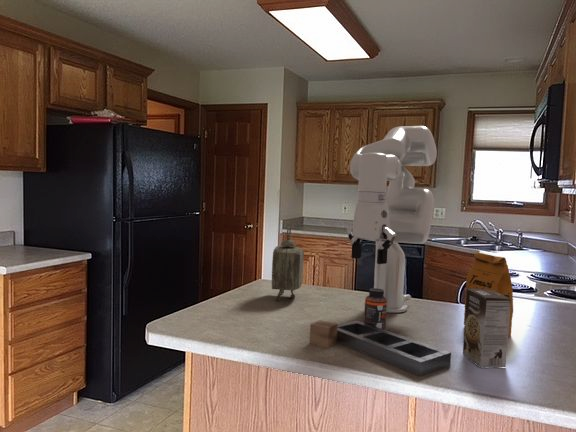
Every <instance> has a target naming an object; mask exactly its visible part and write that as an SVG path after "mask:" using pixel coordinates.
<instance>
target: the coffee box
mask: <svg viewBox="0 0 576 432" xmlns="http://www.w3.org/2000/svg"><path fill="white" fill-rule="evenodd" d="M466 290H467V294H466V309H465V308H464V312H465V325H464V329H463V342H462V343H463V344H462V355H464V356H465V357H466V358H467V357H468V358H467V359H469V360H470V361H471V360H472V361H473V364H475V363H476V364H477V365H478V366H477V365H476V364H475V365H476V366H477V367H479V366H480V367H506V368H507V357H508V356H507V355H508V354H507V353H508V344H509V343H508V342H509V337H508V332H509V320H510V308H511V298H508V297H506V296H504V295H502V294H499V293H497V292H495V291H493V290H484V289H466V288H465V291H466ZM472 361H471V362H472ZM480 367H479V368H480Z"/></svg>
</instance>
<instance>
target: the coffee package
mask: <svg viewBox="0 0 576 432" xmlns="http://www.w3.org/2000/svg"><path fill="white" fill-rule="evenodd" d="M473 257H474V258H475V260H474V262H473V264H472V266H471V268H470V270H469V272H468V274H467V276H466V278H465V295H464V298H465V300H464V310H465V309H466V294H467V290H466V289H484V290H493V291H495V292H497V293H499V294H502V295H504V296H506V297H508V298H511V308H510V320H509V332H508V338H509V337H512V327H513V326H512V324H513V316H514V297H513V296H514V295H513V293H514V291H513V290H514V289H513V282H512V279H511V274H510V269H509V266H508V263H507V262H508V261H507V259H506V257H503V256H496V255H492V254H487V253H483V252H479V251H477V252H475V253H474V256H473ZM463 316H464V318H463V319H464V320H463V325H464V326H465V311H464V313H463Z"/></svg>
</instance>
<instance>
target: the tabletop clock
mask: <svg viewBox="0 0 576 432" xmlns="http://www.w3.org/2000/svg"><path fill="white" fill-rule="evenodd" d="M286 229H287V230H286V239H284V240H282V241H281V244H280V245H277V246H275V247H274V249H273V252H272V263H271V266H272V267H271V289H272V290H279V291H278V293H277V295H275V297H274V301H276V302H279V301H280V296H281V295H283V294H285V291H290V293H291V294H290V298H291V299H292V300H293V299H295V298H296V294H294V292H295V291H296V290H298V289H301V287H302V284H303V279H304V255H305V253H304V252H305V249H302V248H300V247H298V246H296V243H295V241H294V240H292V239H291V234H292V233H291V231H292V229H291V225H290V226H288V227H287V228H286Z"/></svg>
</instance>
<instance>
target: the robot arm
mask: <svg viewBox="0 0 576 432" xmlns="http://www.w3.org/2000/svg"><path fill="white" fill-rule="evenodd" d="M437 153H438V152H437V145H436V142H435V138H434V136H433V133H432V132H431V130H430V128H428V127H426V126H424V125H412V126H410V125H409V126H408V125H407V126H406V125H405V126H403V125H401V126H396V127H393V128H391V129H390V130H389V131H388V132H387V134H386V135H385V136H384V137H383V139H382V140H378V141H374V142H373V143H372V142H371V143H369V144H366V145H364V146H362V147H361V148H358V150H357V151H355V153H354V155H353V157H352V158H351V161H350V163H349V170H350V174H351V176H352V177H353V179H355V180H358V187H357V188H358V189H357V191H358V192H357V202H356V204H355V208H354V209H355V210H354V214H353V222H352V223H353V224H350V225H349V226H347V227H346V231H347V234H348V235H347V236H348V239H349V240H350V244H351V259H353V260H354V259H355V260H357V259H361V258H362V246H363V245H362V241H363V240H365V241H372V242H375V261H374V278H373V281H374V283H373V288H377V289H382V290H384V295H383V296H384V298H386V300H387V309H386V313H392V314H393V313H394V314H395V313H398V314H399V313H405V312H406V311H407V310H408V305H407V304H405V302H406V301H411V299H412V296H411V295H410V294H406V293H405V294H404V285H405V284H404V283H405V271H406V270H405V267H406V255H405V252H404V250H403V249H402V247H401V246H400V244H399V243H404V244H415V245H417V244H419V245H421V244H424V243H426V242H427V241H428V239H429V236H430V231H431V226H432V225H431V224H432V220H433V219H432V218H433V214H434V206H435V199H434V198H435V197H434V195H433V193H432V191H431V190H429V189H428V188H422V187H421V188H417V187H415V184H416V180H415V178H414V176H413V175H412V173H411V172H410V171H409V170H408V169H407V168H406V166H407V167H408V166H409V167H412V166H414V167H429V166H432V165H433V164H435V162H436V160H437V155H438V154H437ZM388 182H389V184H388V188H387V183H388Z"/></svg>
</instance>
